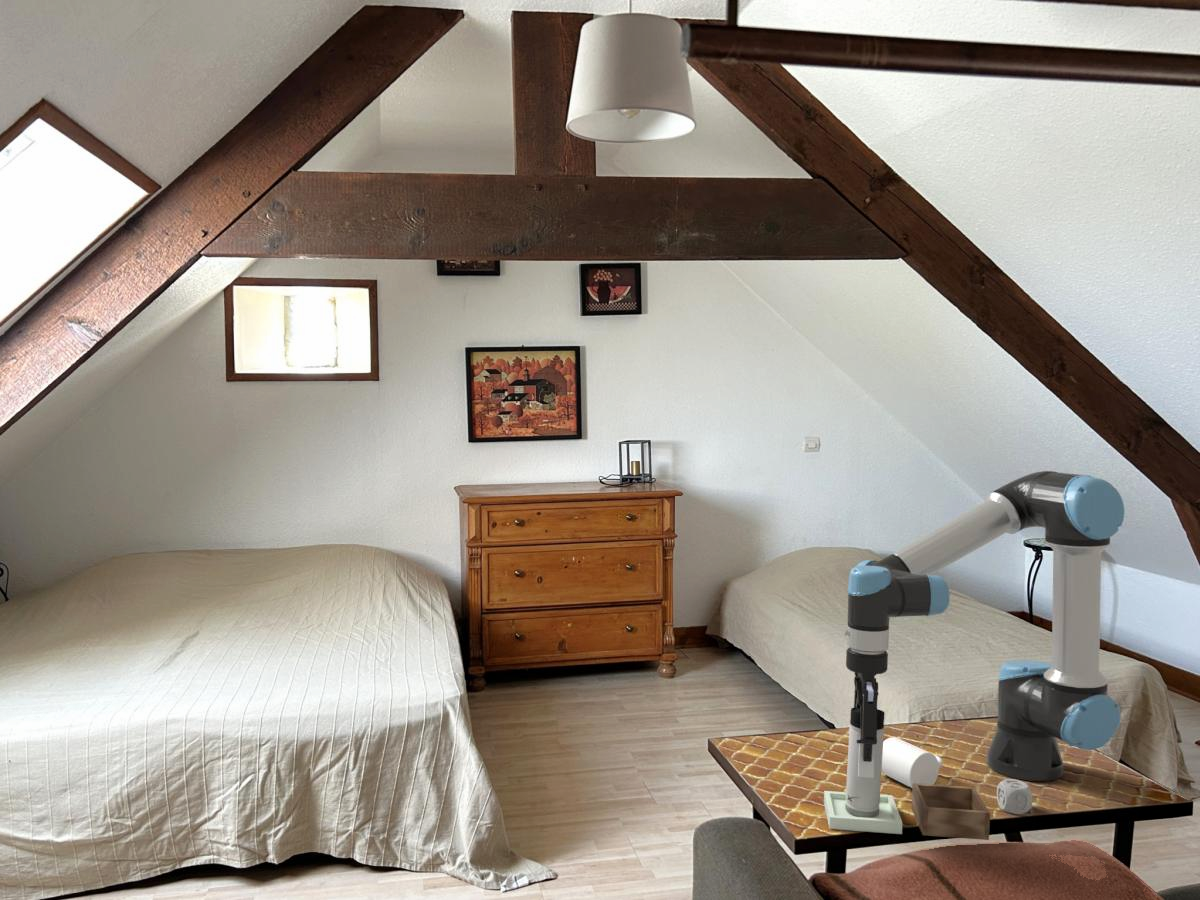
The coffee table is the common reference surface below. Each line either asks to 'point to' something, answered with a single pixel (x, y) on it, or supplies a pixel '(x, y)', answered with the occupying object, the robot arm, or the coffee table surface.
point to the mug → (909, 763)
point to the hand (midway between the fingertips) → (863, 768)
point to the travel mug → (858, 789)
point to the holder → (950, 811)
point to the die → (1014, 796)
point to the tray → (844, 820)
